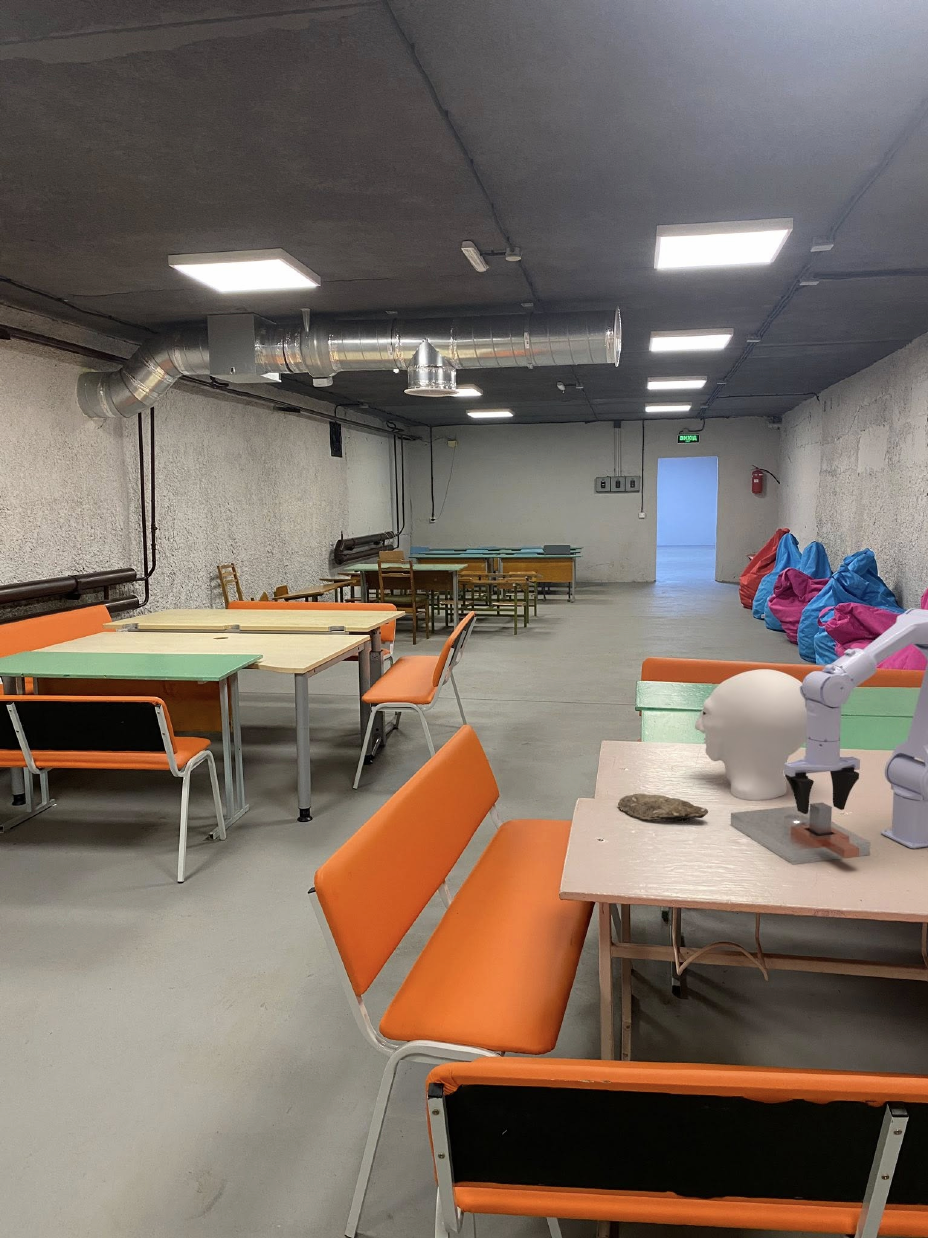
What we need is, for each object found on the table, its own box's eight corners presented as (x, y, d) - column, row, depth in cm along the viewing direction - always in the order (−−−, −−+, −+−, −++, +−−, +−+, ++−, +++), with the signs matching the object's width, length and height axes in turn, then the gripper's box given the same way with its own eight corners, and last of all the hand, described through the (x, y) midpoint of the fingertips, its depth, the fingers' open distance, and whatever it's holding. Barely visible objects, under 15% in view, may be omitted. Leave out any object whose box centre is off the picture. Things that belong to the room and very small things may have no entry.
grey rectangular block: (820, 849, 149) (822, 802, 148) (830, 854, 147) (831, 807, 146) (808, 850, 149) (810, 803, 148) (817, 856, 146) (819, 808, 145)
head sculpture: (802, 811, 169) (806, 680, 166) (679, 787, 186) (681, 668, 183) (823, 789, 183) (827, 668, 180) (707, 769, 199) (709, 658, 196)
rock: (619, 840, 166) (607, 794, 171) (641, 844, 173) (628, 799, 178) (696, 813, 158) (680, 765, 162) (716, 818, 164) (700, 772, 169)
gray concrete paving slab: (799, 817, 166) (800, 798, 165) (890, 866, 141) (891, 844, 141) (730, 825, 162) (731, 805, 161) (811, 876, 138) (811, 853, 137)
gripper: (842, 729, 151) (839, 799, 152) (774, 735, 148) (772, 806, 149) (869, 738, 144) (866, 811, 146) (798, 745, 141) (796, 820, 142)
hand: (820, 810), depth 147 cm, fingers open, 7 cm apart
